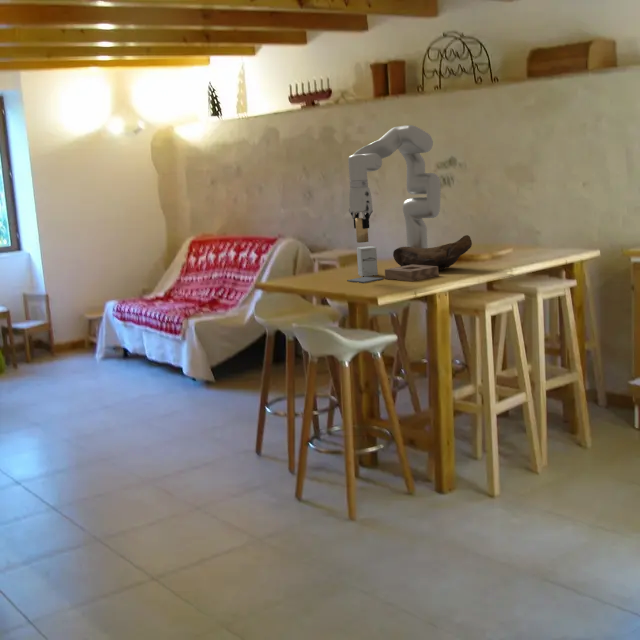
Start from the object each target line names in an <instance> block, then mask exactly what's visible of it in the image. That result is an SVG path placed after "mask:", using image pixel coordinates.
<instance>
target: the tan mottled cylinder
mask: <svg viewBox="0 0 640 640" xmlns="http://www.w3.org/2000/svg"><path fill="white" fill-rule="evenodd" d="M362 219H363V217H359V218H355V223H356V229H355V236H356V238H355V239H356V243H358V244H359V243H361V244H362V243H369V228H366V229H363V223H362Z"/></svg>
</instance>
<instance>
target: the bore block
mask: <svg viewBox="0 0 640 640" xmlns="http://www.w3.org/2000/svg"><path fill="white" fill-rule="evenodd" d="M434 277H439V270H438V266H426V265H407V266H397V267H396V266H395V267H391V268H386V269H384V279H385V280H393V279H397V280H396V281H403V280H405V281H406V282H415V281H420V280H424V279H425V280H426V279H430V278H434ZM414 280H415V281H414ZM405 281H404V282H405Z"/></svg>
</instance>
